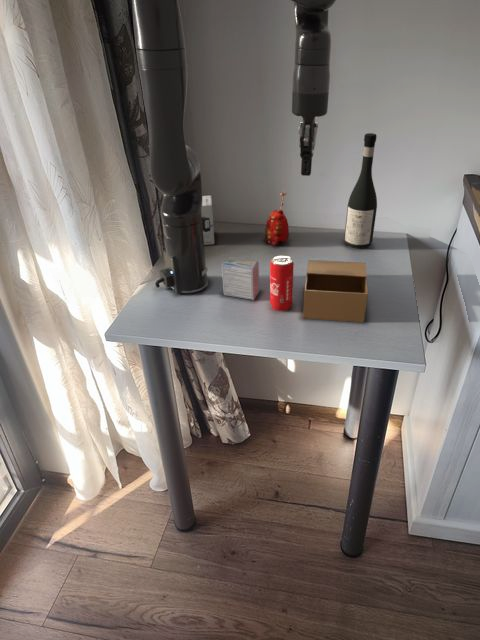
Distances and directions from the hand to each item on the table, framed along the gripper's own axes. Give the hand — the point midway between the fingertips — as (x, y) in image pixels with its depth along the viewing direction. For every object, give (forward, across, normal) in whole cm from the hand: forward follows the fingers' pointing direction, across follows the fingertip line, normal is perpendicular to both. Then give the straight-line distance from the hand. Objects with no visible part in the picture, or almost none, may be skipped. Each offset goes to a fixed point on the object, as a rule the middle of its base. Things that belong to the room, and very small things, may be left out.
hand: (305, 174), depth 109 cm
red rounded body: (+26, +21, +9) cm, 34 cm away
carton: (+26, -13, -9) cm, 30 cm away
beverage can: (+26, -15, +3) cm, 31 cm away
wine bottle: (+26, +22, -15) cm, 37 cm away
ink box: (+26, +20, +30) cm, 45 cm away
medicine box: (+26, -11, +14) cm, 32 cm away
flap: (+18, -10, -9) cm, 22 cm away
